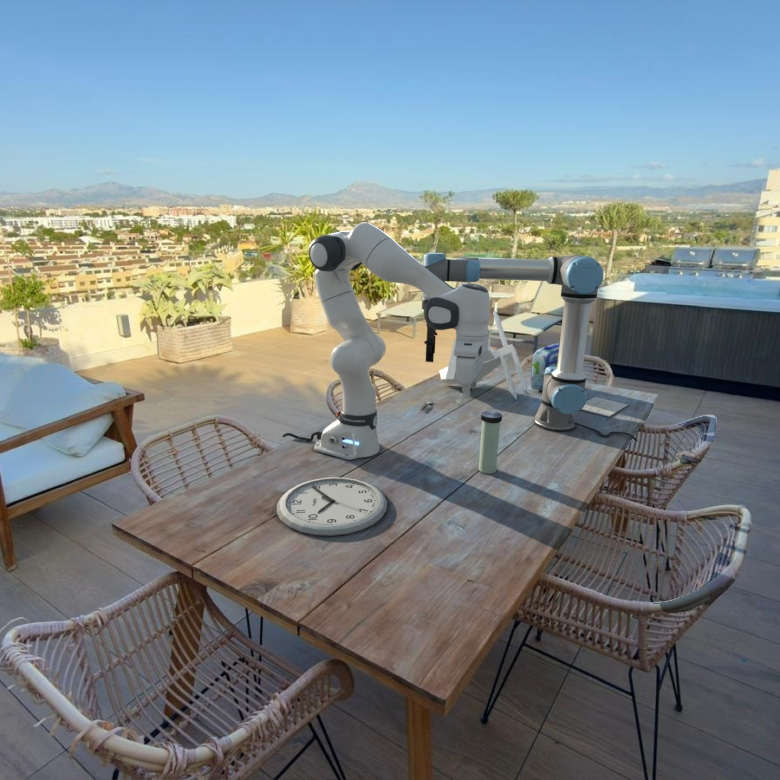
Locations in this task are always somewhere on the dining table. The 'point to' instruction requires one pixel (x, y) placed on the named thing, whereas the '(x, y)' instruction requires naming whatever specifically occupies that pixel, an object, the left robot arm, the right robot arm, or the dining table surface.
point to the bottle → (489, 447)
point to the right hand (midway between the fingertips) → (430, 357)
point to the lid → (491, 417)
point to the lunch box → (543, 364)
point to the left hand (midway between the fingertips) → (469, 392)
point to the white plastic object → (490, 363)
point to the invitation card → (603, 406)
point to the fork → (427, 403)
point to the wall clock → (331, 506)
